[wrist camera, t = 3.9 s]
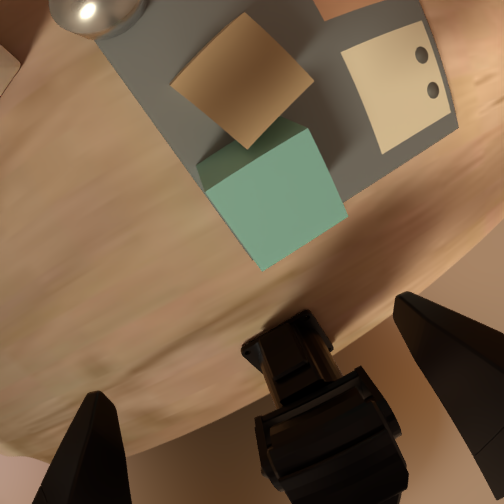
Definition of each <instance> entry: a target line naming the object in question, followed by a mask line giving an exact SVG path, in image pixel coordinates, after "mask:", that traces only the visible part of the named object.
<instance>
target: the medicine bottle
mask: <svg viewBox="0 0 504 504" xmlns="http://www.w3.org/2000/svg"><path fill="white" fill-rule="evenodd" d="M19 68H20V62H19V61H18V60H17V59H16V58H15V57H14V56H13V55H12V54H10V53H9V52H8V51H7V50H6V49H5V48H4V47H3V46H2V45H1V44H0V96H1V95H2V93H3V92H4V90H5V89H6V87H7V86H8V84H9V83H10V81H11V80H12V79H13V77H14V76H15V74H16V73H17V72H18V70H19Z"/></svg>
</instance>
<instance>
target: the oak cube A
mask: <svg viewBox="0 0 504 504" xmlns="http://www.w3.org/2000/svg"><path fill="white" fill-rule="evenodd" d="M313 82H314V80H313V79H312V78H311V77H310V75H309V74H308V73H307V72H306V71H305V70H304V69H303V68H302V67H301V66H300V65H299V64H298V63H297V62H296V61H295V60H294V59H293V58H292V57H291V55H290V54H289V53H288V52H287V51H286V50H285V49H284V48H283V47H282V46H281V45H280V44H279V43H277V42H276V41H275V40H274V39H273V38H272V37H271V36H270V35H269V34H268V33H267V32H266V31H265V30H264V29H263V28H262V27H261V26H260V25H258V24H257V23H256V22H255V21H254V20H253V19H252V18H251V17H250V16H249V15H247V14H246V13H245V12H244V13H242V14H241V15H240V16H238V17H237V18H236V19H234V20H233V21H232V22H230V23H229V24H228V25H227V26H225V27H224V28H223V29H222V30H221V31H220V32H219V33H218V34H217V35H216V36H215V37H214V38H213V39H212V40H211V41H210V42H209V43H208V44H207V45H205V46H204V47H203V48H202V49H201V50H200V51H199V52H198V54H197V55H196V56H195V57H194V58H193V59H192V60H191V61H190V62H189V63H188V64H187V65H186V66H185V67H184V68H183V69H182V70H181V71H180V72H179V73H178V75H177V76H176V77H175V78H174V79H173V80H172V81H171V82H170V83H169V84H170V86H171V87H172V88H174V89H175V90H176V91H177V92H179V93H180V94H181V95H182V96H184V97H185V98H186V99H187V100H189V101H190V102H191V103H192V104H194V105H195V106H196V107H197V108H199V109H200V110H201V111H202V112H203V113H205V114H206V115H207V116H208V117H209V118H211V119H212V120H213V121H214V122H215V123H217V124H218V125H219V126H220V127H221V128H223V129H224V130H225V131H226V132H227V133H228V134H230V135H231V136H232V137H233V138H234V139H235V140H237V141H238V142H239V143H240V144H241V145H242V146H243V147H245V148H246V149H247V150H248V148H249V147H250V146H251V145H252V144H253V143H254V142H255V141H256V140H257V139H258V138H259V137H260V136H261V135H262V134H263V133H264V131H265V130H266V129H267V128H268V127H269V126H270V125H271V124H272V123H273V122H274V121H275V120H276V119H277V118H278V117H279V116H280V115H281V114H282V113H283V112H284V111H285V110H286V109H287V108H288V107H289V106H290V105H291V104H292V103H293V102H294V101H295V100H296V99H297V98H298V97H299V96H300V95H301V94H302V93H303V92H304V91H305V90H306V89H307V88H308V87H309V86H310V85H311V84H312V83H313Z"/></svg>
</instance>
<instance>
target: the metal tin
mask: <svg viewBox="0 0 504 504" xmlns="http://www.w3.org/2000/svg"><path fill="white" fill-rule="evenodd" d="M146 4H147V0H49V9H50V13H51V16H52V17H53V19H54V21H55V22H56V23H57V24H58V25H59V26H60V27H62V28H64V29H65V30H68V31H70V32H73V33H75V34H77V35H80V36H82V37H84V38H87V39H91V40H107V39H111V38H114V37H117V36H119V35H121V34H123V33H124V32H126V31H127V30H129V29H130V28H131V27H132V26H134V25H135V24H136V22H137V21H138V20H139V19H140V17H141V16H142V14H143V12H144V10H145V8H146Z"/></svg>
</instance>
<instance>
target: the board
mask: <svg viewBox="0 0 504 504" xmlns="http://www.w3.org/2000/svg"><path fill="white" fill-rule="evenodd" d="M244 12H245V13H246V14H247V15H249V16H250V17H251V18H252V19H253V20H254V21H255V22H256V23H257V24H258V25H260V26H261V27H262V28H263V29H264V30H265V31H266V32H267V33H268V34H269V35H270V36H271V37H272V38H273V39H274V40H275V41H276V42H277V43H279V44H280V45H281V46H282V47H283V48H284V49H285V50H286V51H287V52H288V53H289V54H290V55H291V57H292V58H293V59H294V60H295V61H296V62H297V63H298V64H299V65H300V66H301V67H302V68H303V69H304V70H305V71H306V72H307V73H308V74H309V75H310V77H311V78H312V79H313V80H314V82H313V83H312V84H311V85H310V86H309V87H308V88H307V89H306V90H305V91H304V92H303V93H302V94H301V95H300V96H299V97H298V98H297V99H296V100H295V101H294V102H293V103H292V104H291V105H290V106H289V107H288V108H287V109H286V110H285V111H284V112H283V113H282V114H281V115H280V116H281V117H283V118H286V119H288V120H291V121H293V122H295V123H298V124H300V125H302V126H305V127H307V128H308V129H309V131H310V133H311V135H312V137H313V139H314V141H315V143H316V145H317V147H318V150H319V152H320V154H321V156H322V158H323V160H324V162H325V164H326V167H327V169H328V171H329V173H330V175H331V178H332V180H333V182H334V184H335V187H336V189H337V191H338V193H339V196H340V198H341V200H342V203H344V202H345V201H347V200H348V199H350V198H351V197H353V196H354V195H356V194H358V193H359V192H361V191H362V190H364V189H365V188H367V187H368V186H370V185H372V184H373V183H375V182H376V181H378V180H379V179H381V178H382V177H384V176H386V175H387V174H389V173H390V172H392V171H393V170H395V169H396V168H398V167H399V166H401V165H403V164H404V163H406V162H407V161H409V160H410V159H412V158H413V157H415V156H416V155H418V154H420V153H421V152H423V151H424V150H426V149H427V148H429V147H430V146H432V145H433V144H435V143H436V142H438V141H439V140H441V139H443V138H444V137H446V136H447V135H449V134H450V133H452V132H453V131H455V130H456V129H458V128H459V127H458V122H457V117H456V113H455V109H454V104H453V100H452V96H451V92H450V89H449V85H448V81H447V78H446V74H445V71H444V68H443V64H442V61H441V58H440V55H439V52H438V49H437V46H436V43H435V40H434V38H433V35H432V32H431V30H430V27H429V24H428V22H427V19H426V17H425V14H424V12H423V9H422V7H421V5H420V2H419V0H147V4H146V8H145V10H144V12H143V14H142V16H141V17H140V19H139V20H138V21H137V22H136V24H135V25H134V26H132V27H131V28H130V29H129V30H127V31H126V32H124V33H123V34H121V35H119V36H117V37H114V38H111V39H107V40H94V41H95V42H96V44H97V45H98V47H99V48H100V49H101V51H102V52H103V54H104V55H105V56H106V58H107V59H108V61H109V62H110V63H111V65H112V66H113V68H114V69H115V70H116V72H117V73H118V75H119V76H120V77H121V79H122V80H123V82H124V83H125V84H126V86H127V87H128V89H129V90H130V91H131V93H132V94H133V95H134V97H135V98H136V100H137V101H138V102H139V104H140V105H141V107H142V108H143V109H144V111H145V112H146V114H147V115H148V116H149V118H150V119H151V121H152V122H153V123H154V125H155V126H156V128H157V129H158V130H159V132H160V133H161V134H162V136H163V137H164V139H165V140H166V141H167V143H168V144H169V146H170V147H171V148H172V150H173V151H174V153H175V154H176V155H177V157H178V158H179V159H180V161H181V162H182V164H183V165H184V166H185V168H186V169H187V171H188V172H189V173H190V175H191V176H192V177H193V179H194V180H195V182H196V183H197V184H198V186H199V187H200V189H201V190H202V191H203V193H204V194H205V195H206V197H207V198H208V200H209V201H210V202H211V204H212V205H213V207H214V208H215V209H216V211H217V212H218V213H219V215H220V216H221V218H222V219H223V220H224V222H225V223H226V224H227V222H226V221H225V219H224V218H223V217H222V215H221V214H220V212H219V211H218V210H217V208H216V207H215V206H214V204H213V203H212V201H211V200H210V199H209V197H208V196H207V194H206V193H205V191H204V188H203V185H202V182H201V180H200V177H199V174H198V171H197V168H196V165H197V164H199V163H200V162H202V161H203V160H205V159H206V158H208V157H209V156H211V155H212V154H214V153H216V152H217V151H219V150H220V149H222V148H223V147H225V146H226V145H228V144H230V143H231V142H233V141H234V140H235V139H234V138H233V137H232V136H231V135H230V134H228V133H227V132H226V131H225V130H224V129H223V128H221V127H220V126H219V125H218V124H217V123H215V122H214V121H213V120H212V119H211V118H209V117H208V116H207V115H206V114H205V113H203V112H202V111H201V110H200V109H199V108H197V107H196V106H195V105H194V104H192V103H191V102H190V101H189V100H187V99H186V98H185V97H184V96H182V95H181V94H180V93H179V92H177V91H176V90H175V89H174V88H172V87H171V86H170V84H169V83H170V82H171V81H172V80H173V79H174V78H175V77H176V76H177V75H178V73H179V72H180V71H181V70H182V69H183V68H184V67H185V66H186V65H187V64H188V63H189V62H190V61H191V60H192V59H193V58H194V57H195V56H196V55H197V54H198V52H199V51H200V50H201V49H202V48H203V47H204V46H205V45H207V44H208V43H209V42H210V41H211V40H212V39H213V38H214V37H215V36H216V35H217V34H218V33H219V32H220V31H221V30H222V29H223V28H224V27H225V26H227V25H228V24H229V23H230V22H232V21H233V20H234V19H236V18H237V17H238V16H240V15H241V14H242V13H244ZM227 226H228V227H229V229H230V230H231V231H232V233H233V234H234V236H235V237H236V238H237V240H238V241H239V242H240V240H239V239H238V237H237V236H236V235H235V233H234V232H233V230H232V229H231V228H230V226H229V225H228V224H227ZM240 244H241V245H242V247H243V248H244V249H245V251H246V252H247V253H248V251H247V250H246V248H245V247H244V246H243V244H242V243H241V242H240ZM248 255H249V256H250V258H251V259H252V260H253V258H252V257H251V255H250V254H249V253H248Z"/></svg>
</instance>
